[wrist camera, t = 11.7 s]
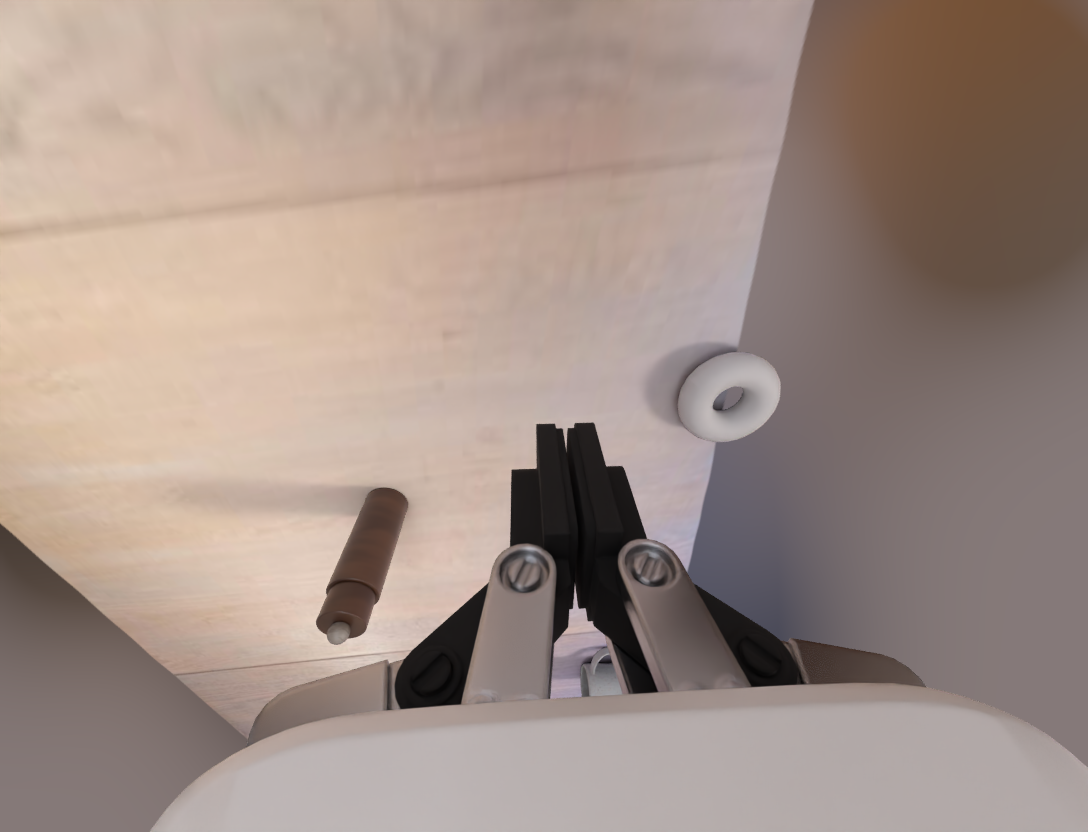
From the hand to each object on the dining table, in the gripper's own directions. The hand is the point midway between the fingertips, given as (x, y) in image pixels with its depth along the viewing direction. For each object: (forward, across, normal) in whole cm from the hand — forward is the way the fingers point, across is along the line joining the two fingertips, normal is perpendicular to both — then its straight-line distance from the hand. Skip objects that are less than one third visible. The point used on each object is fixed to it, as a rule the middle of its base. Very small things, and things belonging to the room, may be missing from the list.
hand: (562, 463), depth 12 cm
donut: (+26, -19, +13) cm, 35 cm away
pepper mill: (+26, +18, +28) cm, 42 cm away
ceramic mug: (+25, -12, +68) cm, 73 cm away
